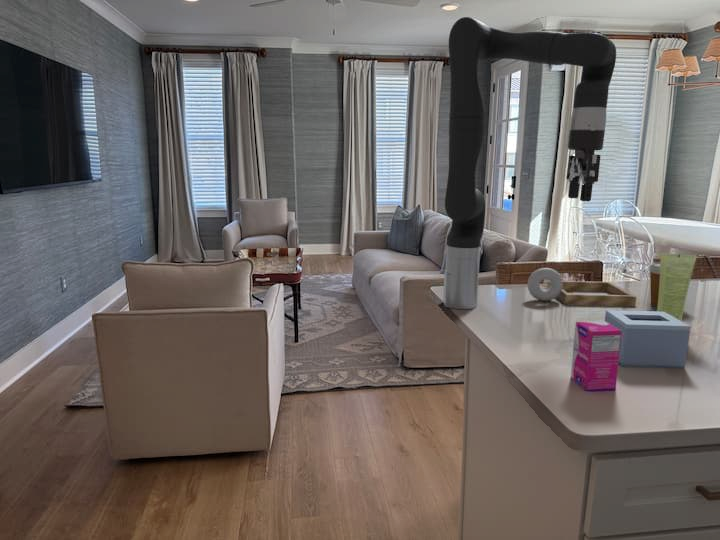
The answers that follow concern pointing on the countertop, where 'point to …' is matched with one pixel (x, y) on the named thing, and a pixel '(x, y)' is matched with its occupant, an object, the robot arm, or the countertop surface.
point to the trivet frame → (617, 297)
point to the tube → (674, 282)
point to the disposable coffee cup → (654, 282)
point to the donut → (551, 291)
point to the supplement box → (596, 355)
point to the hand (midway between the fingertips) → (578, 199)
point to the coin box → (650, 338)
